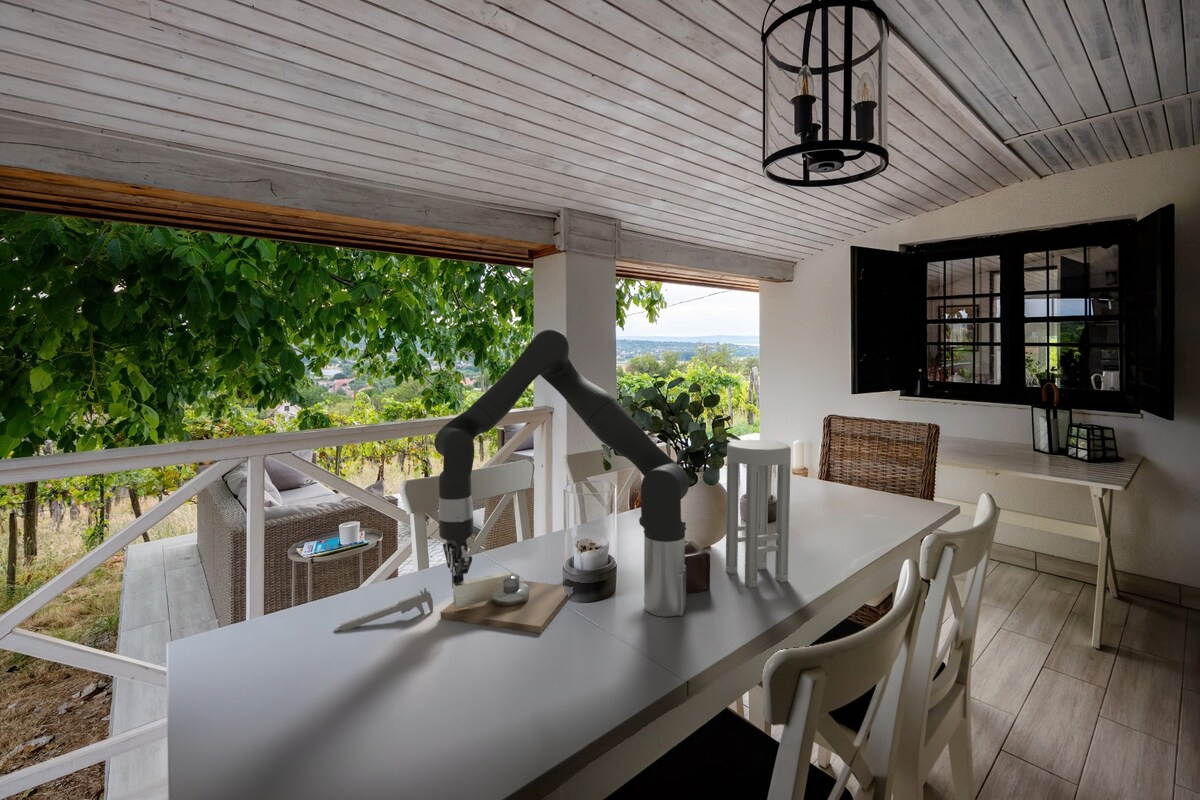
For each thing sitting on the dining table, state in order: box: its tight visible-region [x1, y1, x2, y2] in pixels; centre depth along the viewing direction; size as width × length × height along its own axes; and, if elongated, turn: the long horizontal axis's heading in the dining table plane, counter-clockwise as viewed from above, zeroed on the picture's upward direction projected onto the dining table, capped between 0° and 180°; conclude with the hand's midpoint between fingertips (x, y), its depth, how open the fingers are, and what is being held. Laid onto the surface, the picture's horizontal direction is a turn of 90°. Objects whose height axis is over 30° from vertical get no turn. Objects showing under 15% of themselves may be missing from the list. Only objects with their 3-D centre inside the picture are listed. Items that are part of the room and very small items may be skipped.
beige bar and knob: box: [452, 571, 530, 608], centre depth 131 cm, size 18×9×6 cm, turn 120°
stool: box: [725, 439, 792, 588], centre depth 148 cm, size 16×16×35 cm
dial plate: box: [439, 579, 569, 634], centre depth 134 cm, size 24×21×2 cm
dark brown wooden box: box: [638, 516, 711, 595], centre depth 143 cm, size 16×11×18 cm
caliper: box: [334, 587, 434, 633], centre depth 126 cm, size 20×1×6 cm, turn 115°
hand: (458, 589), depth 130 cm, fingers closed
